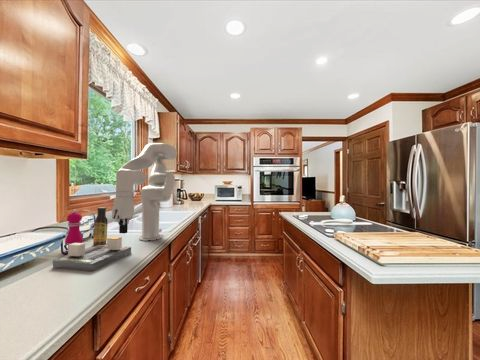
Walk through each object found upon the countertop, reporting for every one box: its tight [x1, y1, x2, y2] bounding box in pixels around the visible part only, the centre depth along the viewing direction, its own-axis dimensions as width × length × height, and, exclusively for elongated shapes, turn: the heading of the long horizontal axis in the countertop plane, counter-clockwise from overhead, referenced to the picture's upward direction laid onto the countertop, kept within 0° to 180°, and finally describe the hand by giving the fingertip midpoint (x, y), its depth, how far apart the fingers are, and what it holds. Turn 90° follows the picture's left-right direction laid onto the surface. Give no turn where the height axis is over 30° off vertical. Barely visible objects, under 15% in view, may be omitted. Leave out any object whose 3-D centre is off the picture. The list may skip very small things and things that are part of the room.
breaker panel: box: [52, 244, 132, 273], centre depth 96 cm, size 22×18×3 cm
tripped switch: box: [106, 236, 123, 250], centre depth 100 cm, size 3×5×5 cm, turn 80°
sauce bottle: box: [92, 206, 109, 246], centre depth 121 cm, size 6×6×20 cm
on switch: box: [67, 242, 86, 256], centre depth 92 cm, size 3×5×4 cm, turn 80°
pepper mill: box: [64, 209, 84, 245], centre depth 110 cm, size 7×7×20 cm
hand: (123, 232), depth 106 cm, fingers closed
